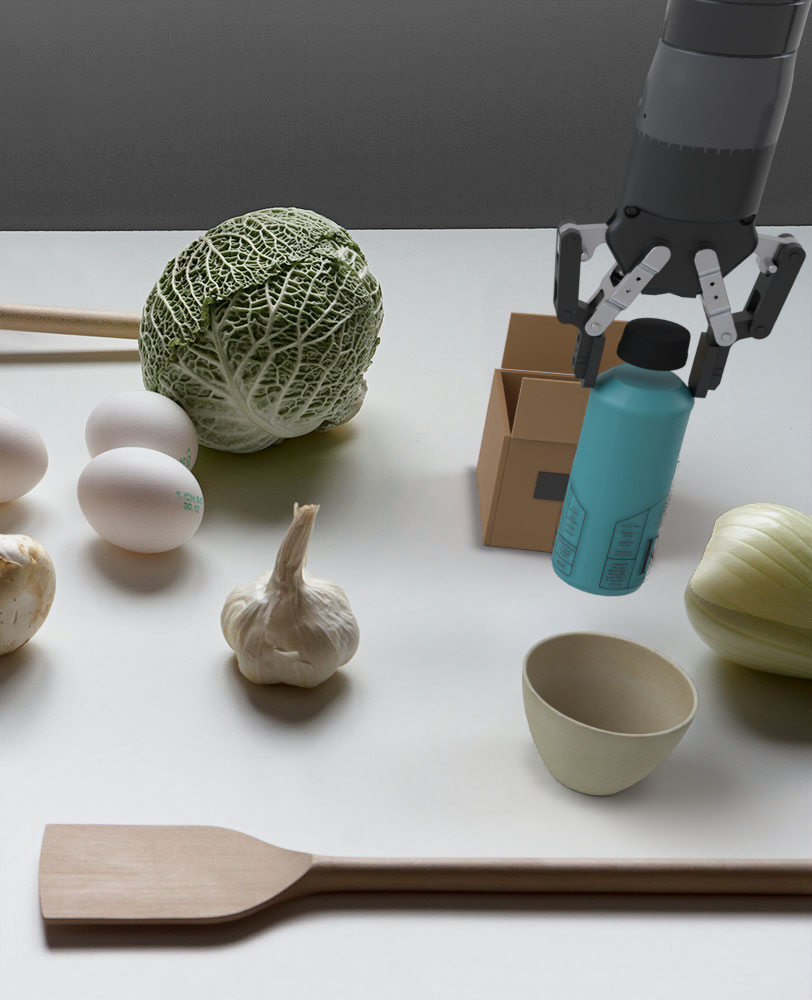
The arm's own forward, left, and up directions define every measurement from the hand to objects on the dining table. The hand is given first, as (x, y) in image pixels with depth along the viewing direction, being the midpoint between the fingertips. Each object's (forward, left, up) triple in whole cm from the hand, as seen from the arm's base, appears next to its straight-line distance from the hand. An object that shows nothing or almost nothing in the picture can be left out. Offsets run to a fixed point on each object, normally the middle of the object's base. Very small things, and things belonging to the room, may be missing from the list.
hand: (641, 387), depth 83 cm
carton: (0, -17, -20) cm, 26 cm away
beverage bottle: (0, 0, -16) cm, 16 cm away
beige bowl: (+1, +14, -20) cm, 25 cm away
